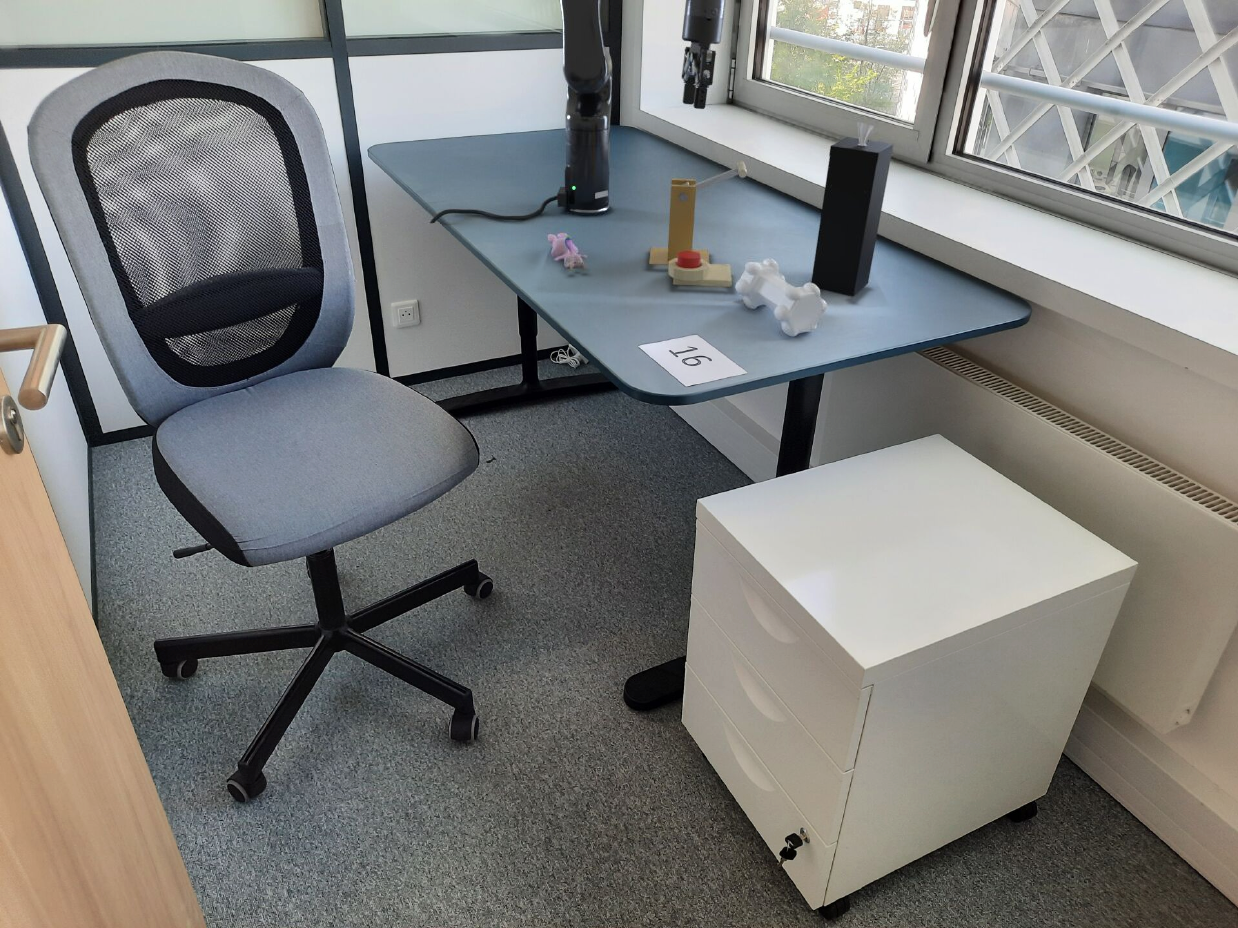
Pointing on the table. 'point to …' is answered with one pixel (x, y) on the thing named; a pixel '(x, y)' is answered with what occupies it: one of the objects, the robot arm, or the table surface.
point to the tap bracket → (679, 224)
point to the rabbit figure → (566, 250)
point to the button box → (701, 274)
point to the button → (689, 259)
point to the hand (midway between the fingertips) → (693, 106)
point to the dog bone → (781, 297)
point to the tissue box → (851, 212)
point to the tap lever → (722, 176)
